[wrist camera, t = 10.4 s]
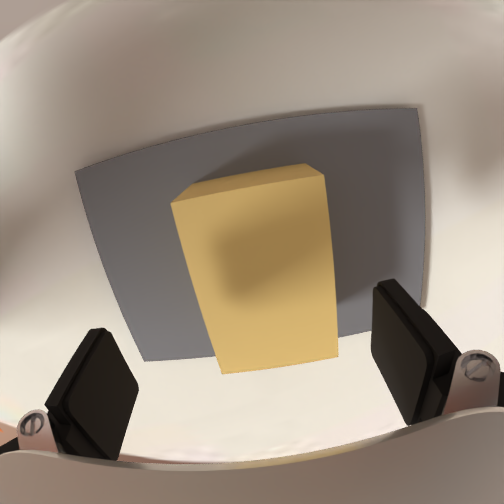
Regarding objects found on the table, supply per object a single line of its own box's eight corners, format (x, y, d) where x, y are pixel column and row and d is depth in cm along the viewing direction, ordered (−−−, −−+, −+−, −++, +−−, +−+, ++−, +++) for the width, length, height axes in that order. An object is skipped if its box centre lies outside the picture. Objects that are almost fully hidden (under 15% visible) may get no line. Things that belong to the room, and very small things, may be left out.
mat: (146, 356, 21) (144, 361, 21) (79, 170, 16) (74, 171, 15) (415, 314, 20) (418, 318, 19) (412, 108, 14) (417, 108, 14)
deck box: (192, 183, 16) (170, 202, 12) (305, 163, 15) (323, 174, 11) (228, 324, 19) (222, 374, 15) (322, 309, 19) (338, 356, 15)
